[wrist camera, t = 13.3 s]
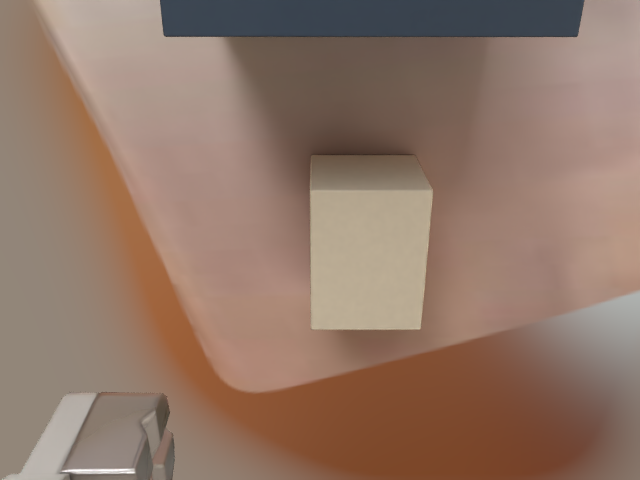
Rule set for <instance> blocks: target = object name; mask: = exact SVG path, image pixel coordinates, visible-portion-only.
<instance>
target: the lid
mask: <svg viewBox="0 0 640 480" xmlns="http://www.w3.org/2000/svg"><path fill="white" fill-rule="evenodd" d="M160 5H161V14H162V24H163V33H164V36H166V37H577V36H578V32H579V27H580V21H581V16H582V10H583V5H584V0H160Z"/></svg>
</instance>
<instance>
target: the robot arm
mask: <svg viewBox="0 0 640 480" xmlns="http://www.w3.org/2000/svg"><path fill="white" fill-rule="evenodd" d="M169 414H170V411H169V405H168V400H167V396H166V395H164V394H163V393H117V392H101V393H84V392H83V393H82V392H70V393H68V394H67V395H65V396H64V397H63V398H62V399H61V401H60V402H59V404H58V406H57V408H56V410H55V411H54V413H53V415H52V417H51V419H50V420H49V422H48V424H47V426H46V428H45V429H44V431H43V433H42V435H41V436H40V438H39V440H38V442H37V444H36V445H35V447H34V449H33V451H32V453H31V454H30V456H29V458H28V460H27V461H26V464H25V465H24V467H23V469H22V470H21V472H20V474H9V475H7V476H6V477H5V478H3V479H2V480H172V477H173V469H174V461H175V459H174V457H175V456H174V439H173V434H172V433H171V432H170V431H169V430H168V429H167V428H166V424H167V421H168V417H169Z"/></svg>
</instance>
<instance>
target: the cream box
mask: <svg viewBox="0 0 640 480" xmlns="http://www.w3.org/2000/svg"><path fill="white" fill-rule="evenodd" d="M432 200H433V190H432V188H431V186H430V184H429V182H428V180H427V178H426V176H425V174H424V172H423V170H422V168H421V166H420V164H419V162H418V160H417V158H416V156H415V155H312V156H311V169H310V299H311V330H420V329H421V322H422V311H423V300H424V289H425V278H426V267H427V256H428V245H429V234H430V222H431V211H432Z"/></svg>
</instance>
